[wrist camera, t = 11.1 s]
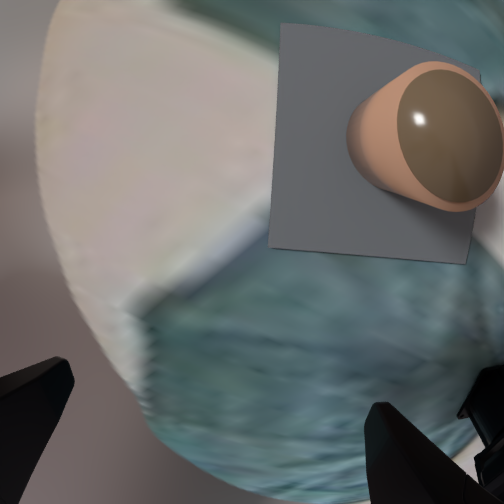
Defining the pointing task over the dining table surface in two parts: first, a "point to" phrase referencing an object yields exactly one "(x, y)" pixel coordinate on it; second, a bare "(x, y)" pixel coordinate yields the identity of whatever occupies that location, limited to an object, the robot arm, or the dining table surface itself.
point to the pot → (430, 138)
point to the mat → (337, 157)
